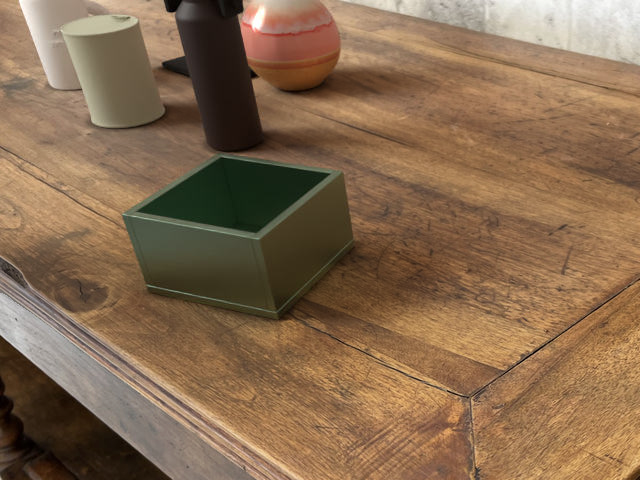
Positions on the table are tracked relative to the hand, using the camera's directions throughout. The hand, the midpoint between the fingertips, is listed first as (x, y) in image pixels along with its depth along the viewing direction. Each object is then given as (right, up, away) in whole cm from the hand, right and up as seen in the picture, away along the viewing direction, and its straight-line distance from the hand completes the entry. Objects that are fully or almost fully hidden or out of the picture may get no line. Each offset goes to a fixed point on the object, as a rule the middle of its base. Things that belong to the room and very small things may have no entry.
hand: (205, 11), depth 89 cm
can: (-17, -6, +17) cm, 25 cm away
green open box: (+10, -31, -14) cm, 36 cm away
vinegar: (0, -12, +10) cm, 15 cm away
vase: (+4, +1, +26) cm, 26 cm away
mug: (-28, +4, +29) cm, 41 cm away
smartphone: (-11, +5, +31) cm, 33 cm away
